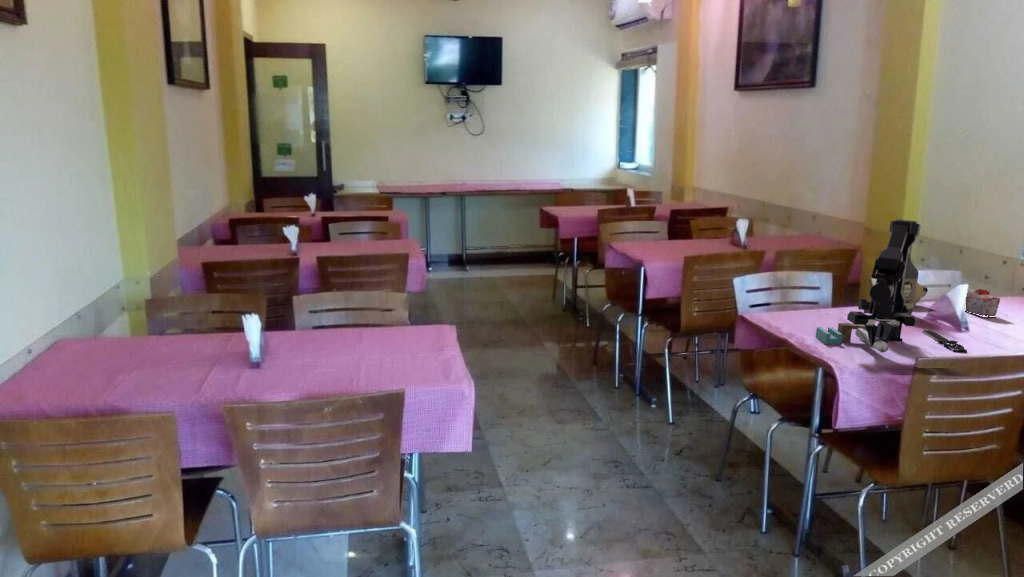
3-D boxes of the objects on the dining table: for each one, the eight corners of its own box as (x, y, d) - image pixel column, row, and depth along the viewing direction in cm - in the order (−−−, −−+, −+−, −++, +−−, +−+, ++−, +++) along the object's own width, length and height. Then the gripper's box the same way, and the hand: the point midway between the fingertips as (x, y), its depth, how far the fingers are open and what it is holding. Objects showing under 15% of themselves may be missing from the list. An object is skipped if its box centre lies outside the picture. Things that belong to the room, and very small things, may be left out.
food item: (1000, 318, 288) (1005, 293, 286) (982, 319, 287) (986, 293, 285) (972, 309, 301) (976, 285, 299) (955, 309, 300) (959, 285, 298)
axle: (863, 337, 250) (865, 328, 249) (887, 353, 234) (889, 343, 234) (854, 336, 250) (856, 327, 249) (877, 352, 234) (879, 342, 233)
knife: (918, 331, 269) (919, 327, 268) (938, 332, 268) (939, 328, 268) (947, 353, 244) (948, 348, 244) (969, 354, 244) (970, 350, 243)
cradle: (831, 337, 255) (832, 327, 255) (841, 344, 248) (842, 334, 247) (815, 337, 255) (816, 326, 255) (825, 344, 248) (826, 333, 247)
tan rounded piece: (929, 307, 301) (934, 281, 299) (903, 308, 298) (907, 282, 296) (911, 301, 310) (915, 275, 308) (886, 302, 308) (890, 276, 305)
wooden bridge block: (869, 339, 255) (871, 323, 253) (873, 342, 252) (875, 326, 250) (836, 338, 254) (838, 322, 253) (840, 341, 252) (842, 325, 250)
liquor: (878, 309, 295) (890, 232, 289) (901, 309, 296) (913, 233, 289) (891, 315, 287) (903, 236, 280) (914, 316, 287) (927, 237, 280)
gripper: (901, 291, 242) (894, 338, 246) (843, 289, 242) (836, 336, 245) (920, 300, 231) (912, 349, 235) (858, 298, 231) (851, 347, 235)
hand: (877, 345), depth 238 cm, fingers closed on axle, 3 cm apart
